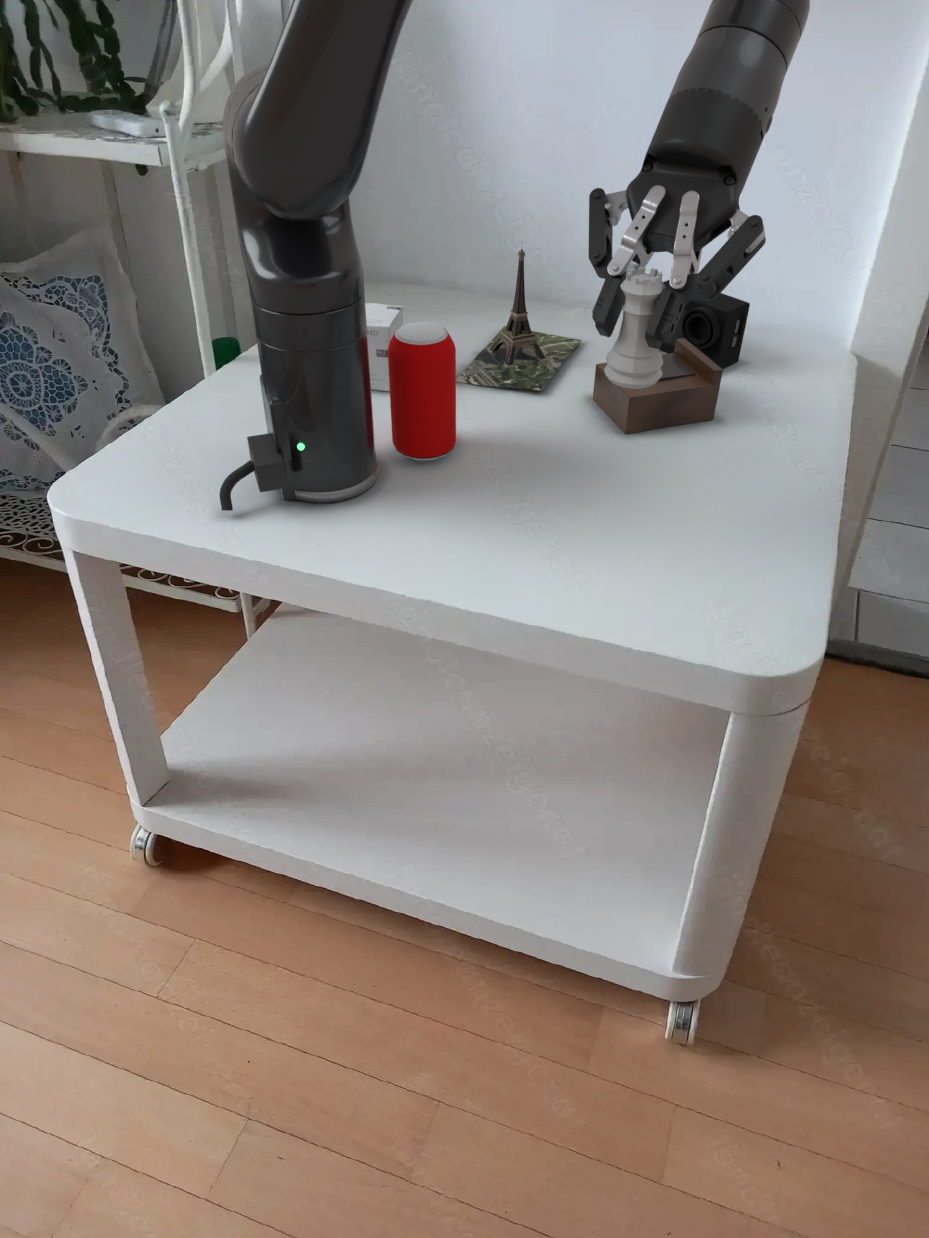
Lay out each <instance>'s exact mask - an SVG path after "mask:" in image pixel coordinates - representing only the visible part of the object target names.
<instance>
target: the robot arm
mask: <svg viewBox="0 0 929 1238" xmlns="http://www.w3.org/2000/svg"><path fill="white" fill-rule="evenodd" d="M414 1H415V0H292V2H291V3H290V4H291V5H290V8H289V11H288V13H287V15H286V19H285V22H284V25H283V27H282V30H281V32H280V34H279V37H278V40H277V43H276V45H275V48H274V51H273V53H272V55H271V58H270V61H268V62H265V63H261V64H259V65H256V66H254V67H252V68H251V69H249V70H248V71H247V72H246V73H244V74H243V75H242V76H241V77H240V78H239V79H238V80H237V81H236V83H235V84H234V86H233V88H232V89H231V91H230V93H229V95H228V96H227V99H226V103H225V107H224V109H223V116H222V117H223V118H222V135H223V136H222V137H223V145H224V152H225V160H226V167H227V172H228V179H229V186H230V192H231V199H232V205H233V210H234V216H235V217H234V218H235V224H236V229H237V236H238V241H239V247H240V252H241V256H242V261H243V265H244V267H245V268H244V269H245V274H246V277H247V283H248V289H249V290H248V291H249V296H250V302H251V309H252V316H253V323H254V330H255V337H256V344H257V345H256V346H257V351H258V359H259V364H260V375H259V383H260V390H261V391H260V392H261V397H262V405H263V411H264V417H265V424H266V432H267V433H263V434H256V435H249V436H248V435H247V437H246V439H247V445H248V452H249V458H250V459H249V460H248V461H247V462H245V463H244V464H242V465H240V467H238V468H236V469H235V470H234V471H232V472H231V473H230V474H229V475H227V477H226V478H225V479H224V481H223V482H222V483H221V486H220V489H219V502H220V507H221V508H220V509H221V511H225V512H226V511H227V512H228V511H229V512H230V511H234V508H233V501H232V491H233V489H234V487H235V486H236V485H237V484H238V483H239V482H240V481H241V480H243V479H244V478H246V477H247V476H249V475H251V474H252V473H253V474H254V477H255V480H256V484H257V487H258V490H259V493H265V492H271V491H277V490H279V493H280V496H281V498H282V500H283V501H289V500H290V501H291V500H299V501H303V502H311V503H333V502H339V501H344V500H348V499H351V498H354V497H357V496H359V495H361V494H363V493H364V492H366V491H367V490H369V489H370V488H371V487H372V486H373V485H374V484H375V482H376V481H377V479H378V475H379V473H378V472H379V470H378V460H377V452H376V445H375V444H376V443H375V428H374V427H375V425H374V414H373V413H374V411H373V400H372V399H373V397H372V389H371V382H370V367H369V353H368V338H367V323H366V308H365V303H366V296H365V295H366V294H365V275H364V264H363V260H362V259H363V258H362V256H361V251H360V248H359V246H358V242H357V238H356V233H355V229H354V228H355V227H354V223H353V219H352V218H353V217H352V211H351V209H352V208H351V199H350V195H351V194H352V193H353V190H354V189H355V187H356V186H357V184H358V181H360V177H361V175H362V171H363V169H364V165H365V162H366V159H367V155H368V151H369V148H370V144H371V140H372V137H373V132H374V129H375V125H376V121H377V117H378V112H379V109H380V105H381V101H382V98H383V93H384V90H385V86H386V82H387V79H388V75H389V72H390V68H391V64H392V61H393V59H394V55H395V51H396V48H397V45H398V42H399V39H400V35H401V33H402V30H403V27H404V25H405V22H406V20H407V17H408V15H409V12H410V10H411V7H412V6H413V3H414ZM810 10H811V0H711V3H710V4H709V7H708V9H707V11H706V14H705V16H704V18H703V20H702V21H703V22H702V24H701V26H700V29H699V31H698V34H697V36H696V39H695V41H694V44H693V45H692V48H691V49H690V52H689V53H688V55H687V57H686V58H685V60H684V61H683V64H682V66H681V68H680V70H679V72H678V73H677V76H676V79H675V82H674V84H673V87H672V89H671V91H670V94H669V97H668V99H667V100H666V103H665V106H664V108H663V111H662V114H661V116H660V118H659V121H658V124H657V126H656V128H655V131H654V133H653V135H652V138H651V140H650V143H649V144H648V145H649V146H648V147H647V150H646V153H645V156H644V159H643V162H642V166H641V169H640V171H639V173H638V174H637V175H636V176H635V178H633V179H632V180H631V181H630V182H629V184H628V185H627V187H626V188H625V190H620V191H616V192H610V193H606V192H605V189H603V188H602V187H595V188H594V189H593V190H591V191H590V193H589V196H588V256H587V257H588V260H589V262H590V264H591V266H592V268H593V270H594V272H595V273H596V276H597V277H598V278H600V279H604V282H603V284H602V286H601V289H600V291H599V294H598V297H597V299H596V301H595V304H594V305H593V308H592V316H591V318H592V320H593V321H594V323H595V324H594V326H595V329H596V331H597V332H598V334H599V336H602V337H606V338H611V337H612V335H613V332H614V330H615V328H616V325H617V323H618V320H619V319H620V316H621V313H622V311H623V309H622V307H621V305H622V304H623V303H624V302H625V294H624V292H623V291H622V289H621V286H620V285H621V284H622V282H623V281H624V280H625V279H626V275H627V272H628V271H629V269H632V268H634V269H636V270H635V274H638V271H639V267H646V266H647V265H648V263H650V261H651V259H652V257H653V256H654V255H655V253H666V252H667V253H669V254H671V255H673V260H672V266H671V269H670V276H669V279H668V280H669V287H668V289H664V288H663V290H662V293H661V295H660V298H659V300H658V302H657V305H656V307H655V310H654V312H653V315H652V317H651V320H650V322H649V325H648V327H647V330H646V333H645V340H646V342H647V344H648V346H649V347H651V348H655V349H659V348H660V347H661V344H662V342H665V343H668V341H669V340H670V339H671V338H672V337H673V334H674V332H675V329H676V327H677V324H678V322H679V319H680V317H681V314H682V312H683V310H684V307H685V305H686V304H687V303H688V302H689V301H691V300H694V299H702V298H703V299H704V300H705V301H713V300H714V299H716V298H717V296H718V295H719V294H720V293H722V292H723V291H724V290H725V289H727V287H728V286H729V285H730V283H732V281H733V280H735V278H736V277H737V276H738V275H739V274H740V272H741V271H742V270H743V269H744V268H745V267H746V266H747V265H748V263H750V261H751V260H752V259H753V258H754V257H755V256H756V255H757V254H758V253H759V251H760V250H761V249H762V248H763V247H764V245H765V244H766V242H767V239H766V238H767V237H766V230H765V225H764V221H763V218H762V217H761V216H760V215H758V214H753V215H750V216H749V215H748V214H746V213H745V212H743V211H742V210H741V208H740V197H741V194H742V193H743V190H744V188H745V185H746V183H747V181H748V178H749V176H750V173H751V170H752V168H753V165H754V164H755V161H756V158H757V156H758V153H759V151H760V148H761V146H762V143H763V141H764V139H765V136H766V135H767V133H768V132H769V131H770V128H771V126H772V123H773V119H774V117H773V116H774V114H775V111H776V108H777V106H778V103H779V100H780V96H781V92H782V87H783V84H784V81H785V77H786V75H787V72H788V70H789V68H790V65H791V63H792V61H793V58H794V55H795V53H796V51H797V48H798V45H799V43H800V41H801V38H802V36H803V33H804V30H805V28H806V24H807V22H808V18H809V14H810ZM627 209H628V211H629V215H630V219H631V222H630V224H629V225H628V227H627V229H626V230H625V232H624V233H623V235H622V237H621V243H620V245H619V247H618V249H617V251H616V252H615V254H614V255H613V234H614V233H613V231H614V230H613V227H616V226H618V225H619V222H620V221H621V218H622V214H623V213H624V211H626V210H627ZM728 229H729V230H728ZM727 230H728V232H727ZM725 232H727V240H726V241H725V243H724V244H723V245H722V246H721V247H720V248H719V249H718V250H717V252H716V253H715V254H714V255H713V256H712V257H711V258H710V260H709V261H707V263H706V264H705V265H704V266H703V267H702V269H701V270H700V264H701V258H702V254H703V249H704V247H706V246H707V245H709V244H710V243H711V242H712V241H714V240H716V238H718V237H719V236H720V235H722V234H723V233H725Z"/></svg>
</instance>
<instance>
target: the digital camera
mask: <svg viewBox="0 0 929 1238" xmlns="http://www.w3.org/2000/svg"><path fill="white" fill-rule="evenodd" d="M669 280H670V279H667V280H665V281H663V283H664V285H665V287H666V289H668V287H669ZM659 298H660V296H659ZM659 298H658V300H659ZM750 305H751V303H750V302H748V301H745V300H742V299H739V298H737V297H734V296H731V295H728V294H725V293H722V292H721V293H720V294H719V295H718V296H717V298H716V299H714V300H713V301H705V300H704V299H703V298H702V299H694V300H691V301H689V302H688V303H687V304H686V305H685V307H684V310H683V312H682V314H681V317H680V319H679V322H678V324H677V327H676V329H675V332H674V334H673V337H672V338H671V339H670V340H669V341H668V343H665V342H662V344H661V347H660V348H659V350H658V351H662V352H665V353H666V354H670V353H674V350H675V343H676V339H682V338H685V339H686V340H687V341H689V342H690V343H691V344H692V345H693V346H695V347H696V348H697V349H698V350H700V351H701V352H702V353H703V354H705V355H706V356H707V357H708V358H709V359H711V360H712V361H713V362H714V363H716V364H717V365H718V366H719V367H720V368H722V369H723V370H724V369H725V368H728V367H730V366H732V365H734V364H736V363H738V362H739V361H740V355H741V351H742V347H743V346H742V345H743V341H744V335H745V331H746V326H747V321H748V316H749V311H750V307H751V306H750Z"/></svg>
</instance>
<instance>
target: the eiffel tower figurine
mask: <svg viewBox="0 0 929 1238" xmlns="http://www.w3.org/2000/svg"><path fill="white" fill-rule="evenodd" d="M521 242H523V239H521ZM517 256H518V265H517V274H516V275H517V277H516V284H515V292H514V298H513V304H512V309H511V310H509V312H510V316H509V318H508V320H507V323H506V325H503V327H502V328H501V329H500V330H499V332H498V333H497V334H496V335H494V337H493V338H492V340H491V341H490V342H489V343H488V344H486V346H485V347H484V348H482V350H481V351H480V352H479V353H478V354H477V355H476V356H475V357H474V359H472V361H471V362H470V363H469V364H468V365H467V366H466V367H465V369H464V370H463V371H462V373H461V374H460V375H459V376H458V377H456V383H462V384H470V385H476V386H477V385H478V386H486V387H494V388H495V387H496V388H514V389H515V388H516V389H525V390H532V391H543V390H544V389H545V387H546V386H547V385H548V383H549V382H550V381H551V380H552V379H553V377H555V375H556V373H557V372H558V370H559V369H560V368H561V366H562V365H563V364H564V362H565V361H567V359H568V357H569V356H570V355H571V354H572V353H573V351H575V349H576V348H577V347H578V346H579V345H580V343H582V341H583V339H578V338H573V337H566V336H560V335H555V334H549V333H544V332H539V331H534V330H532V329H531V325H530V322H529V317H528V314H529V312H528V311H527V307H526V305H527V304H526V293H525V291H526V290H525V258H526V253H525V251H524V249H523V248H520V250H519V251H518V254H517Z"/></svg>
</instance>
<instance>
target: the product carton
mask: <svg viewBox="0 0 929 1238" xmlns="http://www.w3.org/2000/svg"><path fill="white" fill-rule="evenodd" d="M365 308H366V323H367V338H368V353H369V367H370V382H371V391H372V390H373V391H381V392H382V391H383V392H390V386H389V367H388V345H389V342H390V340H391V338H392V337H393V335H394V333H395V331H396V330H397V329H398V328H400V327H401V326H403V325H404V306H402V305H392V304H391V305H390V304H383V303H376V302H369V303H367V302H365Z"/></svg>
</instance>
